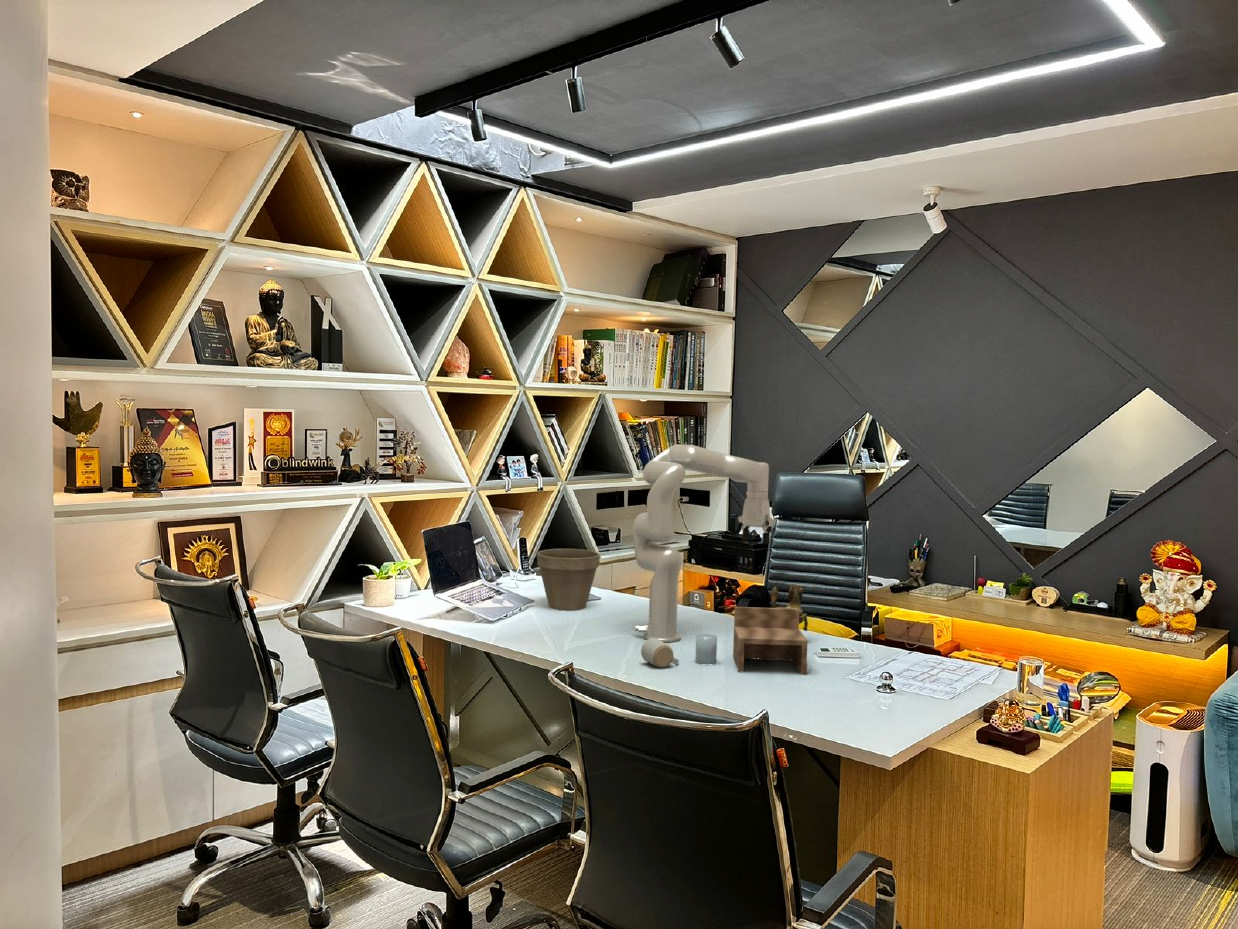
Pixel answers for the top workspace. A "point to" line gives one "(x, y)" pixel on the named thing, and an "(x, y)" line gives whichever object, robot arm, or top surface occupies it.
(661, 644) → the ceramic mug
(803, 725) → the top surface
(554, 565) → the plant pot
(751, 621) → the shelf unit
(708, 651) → the grey cylinder
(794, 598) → the figurine
